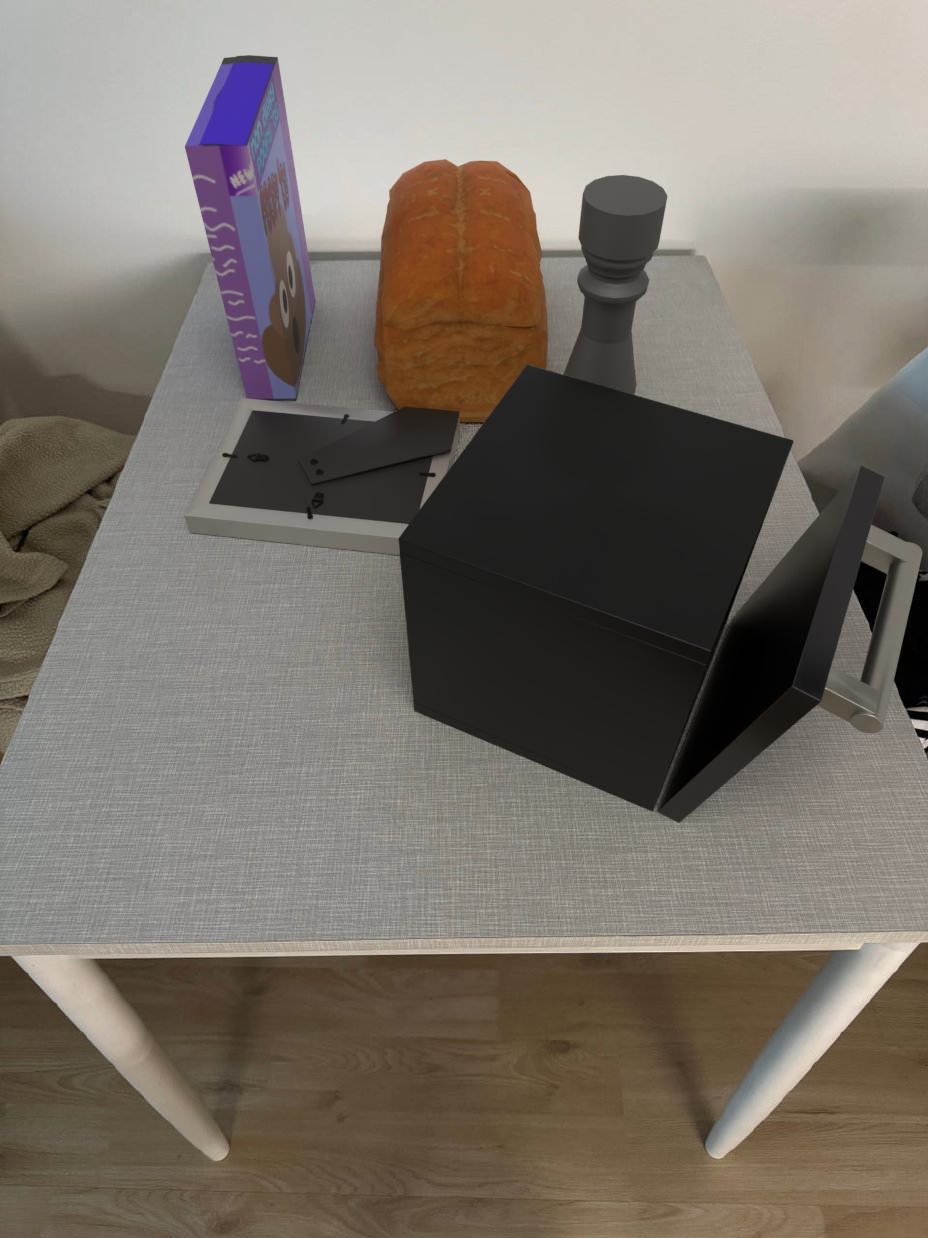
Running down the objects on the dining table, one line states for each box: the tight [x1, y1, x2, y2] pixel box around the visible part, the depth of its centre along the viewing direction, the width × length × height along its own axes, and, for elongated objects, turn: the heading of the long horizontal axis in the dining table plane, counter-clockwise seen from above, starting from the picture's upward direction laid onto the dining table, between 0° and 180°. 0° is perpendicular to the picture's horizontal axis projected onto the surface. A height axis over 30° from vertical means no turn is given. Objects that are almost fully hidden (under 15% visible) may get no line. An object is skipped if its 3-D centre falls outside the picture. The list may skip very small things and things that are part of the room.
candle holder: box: [562, 174, 668, 395], centre depth 69 cm, size 6×6×25 cm
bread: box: [373, 158, 549, 423], centre depth 85 cm, size 16×27×16 cm, turn 1°
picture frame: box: [183, 397, 461, 556], centre depth 77 cm, size 16×3×21 cm
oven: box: [399, 364, 794, 812], centre depth 58 cm, size 18×18×18 cm
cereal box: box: [184, 54, 316, 402], centre depth 81 cm, size 17×5×24 cm, turn 0°
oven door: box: [658, 465, 923, 824], centre depth 55 cm, size 6×18×18 cm, turn 154°
